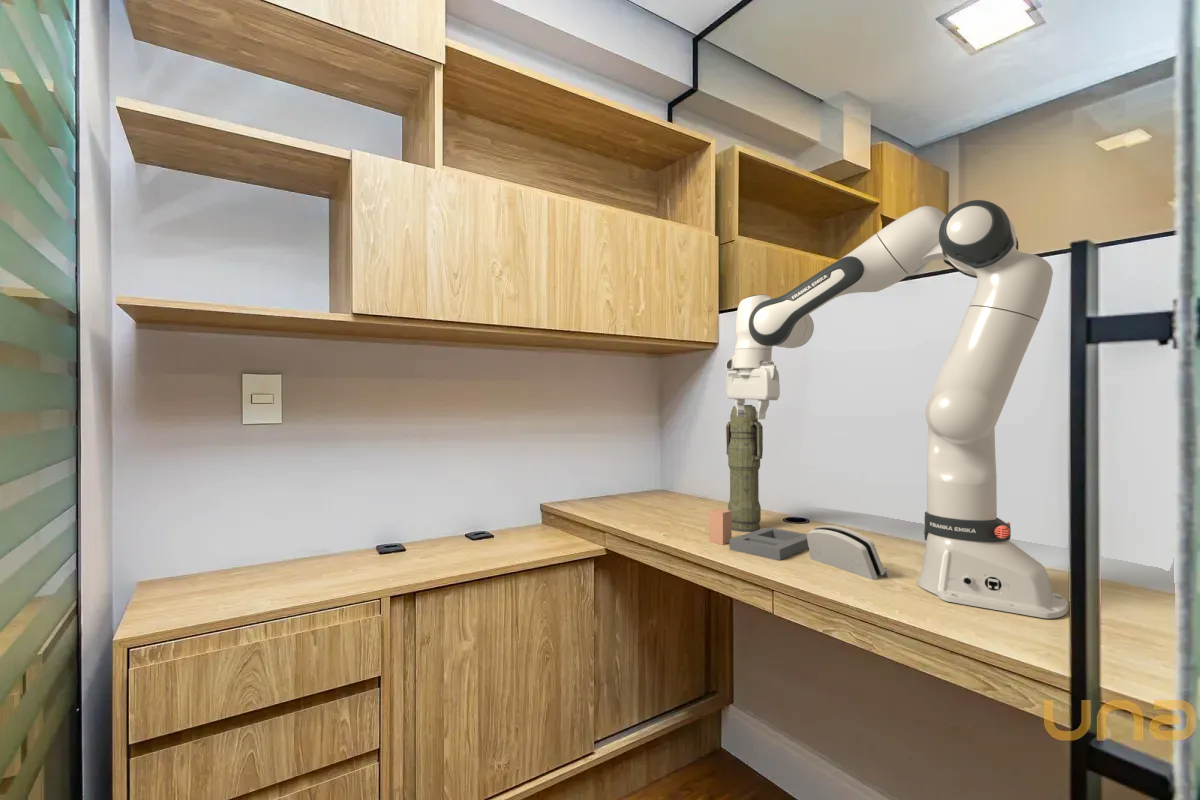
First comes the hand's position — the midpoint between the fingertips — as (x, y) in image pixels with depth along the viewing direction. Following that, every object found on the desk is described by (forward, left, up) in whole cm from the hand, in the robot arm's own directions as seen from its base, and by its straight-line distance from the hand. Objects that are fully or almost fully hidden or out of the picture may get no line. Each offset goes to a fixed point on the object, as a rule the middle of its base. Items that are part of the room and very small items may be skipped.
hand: (750, 418), depth 135 cm
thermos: (+12, -17, -32) cm, 38 cm away
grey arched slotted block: (-23, +1, -32) cm, 39 cm away
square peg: (+8, +1, -32) cm, 33 cm away
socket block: (-4, -4, -32) cm, 32 cm away
